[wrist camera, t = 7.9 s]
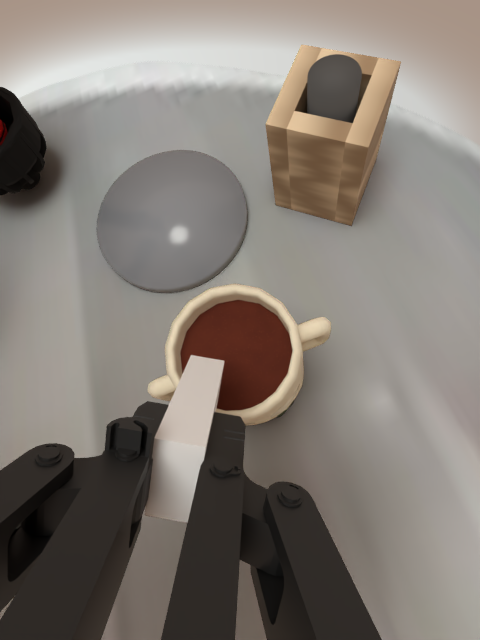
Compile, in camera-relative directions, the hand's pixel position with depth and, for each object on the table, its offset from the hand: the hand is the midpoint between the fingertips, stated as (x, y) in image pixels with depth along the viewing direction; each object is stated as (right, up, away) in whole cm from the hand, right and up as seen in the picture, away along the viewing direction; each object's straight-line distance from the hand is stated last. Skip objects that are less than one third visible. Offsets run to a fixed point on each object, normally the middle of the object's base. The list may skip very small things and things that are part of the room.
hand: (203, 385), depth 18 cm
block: (+9, +15, +19) cm, 26 cm away
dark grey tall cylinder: (+9, +16, +17) cm, 25 cm away
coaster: (-5, +12, +20) cm, 24 cm away
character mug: (+3, -2, +15) cm, 15 cm away
